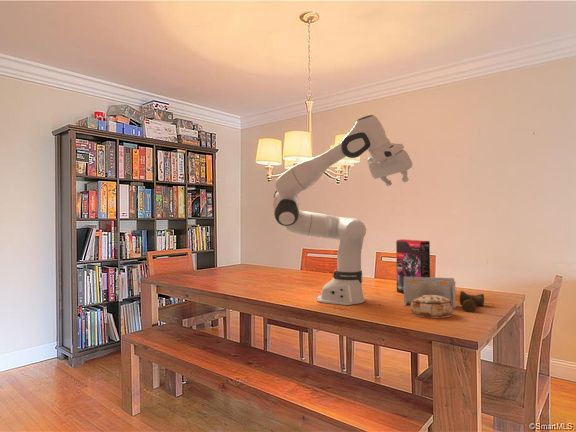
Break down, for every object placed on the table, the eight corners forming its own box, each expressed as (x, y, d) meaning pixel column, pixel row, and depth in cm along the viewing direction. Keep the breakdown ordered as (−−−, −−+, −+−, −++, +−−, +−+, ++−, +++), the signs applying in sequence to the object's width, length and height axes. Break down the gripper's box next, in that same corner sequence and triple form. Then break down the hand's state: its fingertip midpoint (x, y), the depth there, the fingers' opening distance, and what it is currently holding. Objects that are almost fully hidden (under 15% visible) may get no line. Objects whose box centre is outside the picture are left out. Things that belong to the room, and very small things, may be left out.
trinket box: (458, 317, 146) (458, 297, 145) (428, 321, 140) (428, 300, 140) (433, 309, 158) (433, 290, 158) (405, 313, 152) (405, 293, 152)
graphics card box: (395, 292, 192) (394, 239, 192) (405, 290, 195) (404, 238, 195) (421, 298, 177) (420, 241, 177) (431, 296, 180) (430, 240, 180)
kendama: (455, 312, 155) (461, 300, 172) (481, 315, 150) (485, 303, 167) (455, 297, 154) (461, 288, 171) (481, 301, 149) (485, 290, 166)
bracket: (404, 305, 164) (403, 278, 164) (404, 302, 169) (403, 276, 169) (455, 308, 158) (455, 280, 158) (453, 305, 163) (453, 278, 163)
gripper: (361, 162, 156) (375, 190, 158) (395, 150, 137) (411, 182, 140) (370, 155, 158) (385, 183, 161) (405, 143, 140) (421, 175, 142)
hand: (397, 183), depth 150 cm, fingers open, 8 cm apart
